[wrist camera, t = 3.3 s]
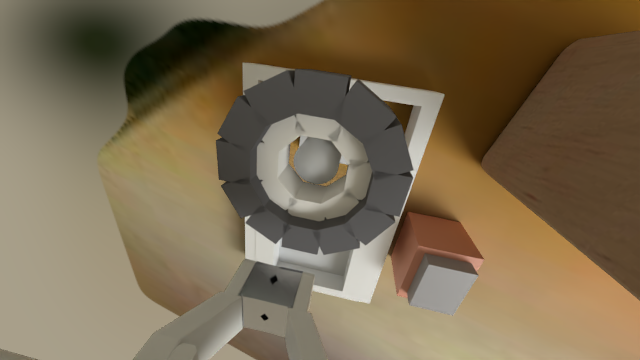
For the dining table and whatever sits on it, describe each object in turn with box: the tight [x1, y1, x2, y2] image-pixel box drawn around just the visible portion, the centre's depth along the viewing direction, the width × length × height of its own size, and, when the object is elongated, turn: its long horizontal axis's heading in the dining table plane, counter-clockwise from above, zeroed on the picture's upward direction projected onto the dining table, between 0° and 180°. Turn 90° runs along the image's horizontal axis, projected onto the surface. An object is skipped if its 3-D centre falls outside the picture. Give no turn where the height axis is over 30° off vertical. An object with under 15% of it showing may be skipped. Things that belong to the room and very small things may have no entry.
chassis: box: [243, 63, 445, 304], centre depth 19 cm, size 22×14×9 cm, turn 172°
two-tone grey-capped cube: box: [391, 212, 484, 315], centre depth 21 cm, size 6×5×6 cm
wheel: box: [216, 69, 413, 255], centre depth 12 cm, size 9×9×3 cm
